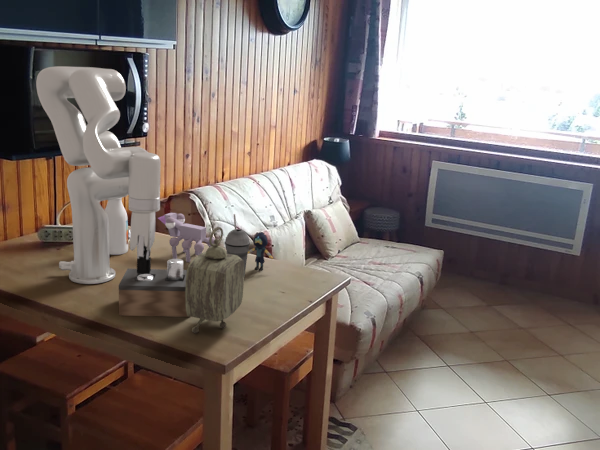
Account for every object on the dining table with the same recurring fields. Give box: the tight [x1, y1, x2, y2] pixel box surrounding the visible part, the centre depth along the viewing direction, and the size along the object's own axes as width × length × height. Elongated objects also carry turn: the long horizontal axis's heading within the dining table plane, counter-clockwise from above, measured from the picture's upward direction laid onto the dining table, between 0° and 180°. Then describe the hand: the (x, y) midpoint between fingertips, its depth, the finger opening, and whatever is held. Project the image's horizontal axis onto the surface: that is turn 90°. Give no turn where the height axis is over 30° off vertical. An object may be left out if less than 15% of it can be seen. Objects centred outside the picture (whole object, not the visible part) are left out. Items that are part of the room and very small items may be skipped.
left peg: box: [137, 274, 153, 281], centre depth 156 cm, size 4×4×8 cm
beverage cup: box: [224, 213, 251, 277], centre depth 176 cm, size 7×7×20 cm
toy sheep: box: [157, 212, 216, 263], centre depth 195 cm, size 20×11×14 cm, turn 66°
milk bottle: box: [104, 197, 129, 256], centre depth 194 cm, size 8×8×20 cm
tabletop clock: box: [185, 226, 245, 334], centre depth 144 cm, size 14×9×25 cm, turn 163°
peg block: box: [118, 267, 190, 318], centre depth 156 cm, size 18×12×8 cm
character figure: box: [247, 232, 274, 272], centre depth 187 cm, size 9×4×12 cm, turn 67°
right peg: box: [166, 258, 184, 281], centre depth 155 cm, size 4×4×8 cm
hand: (143, 272), depth 155 cm, fingers closed
